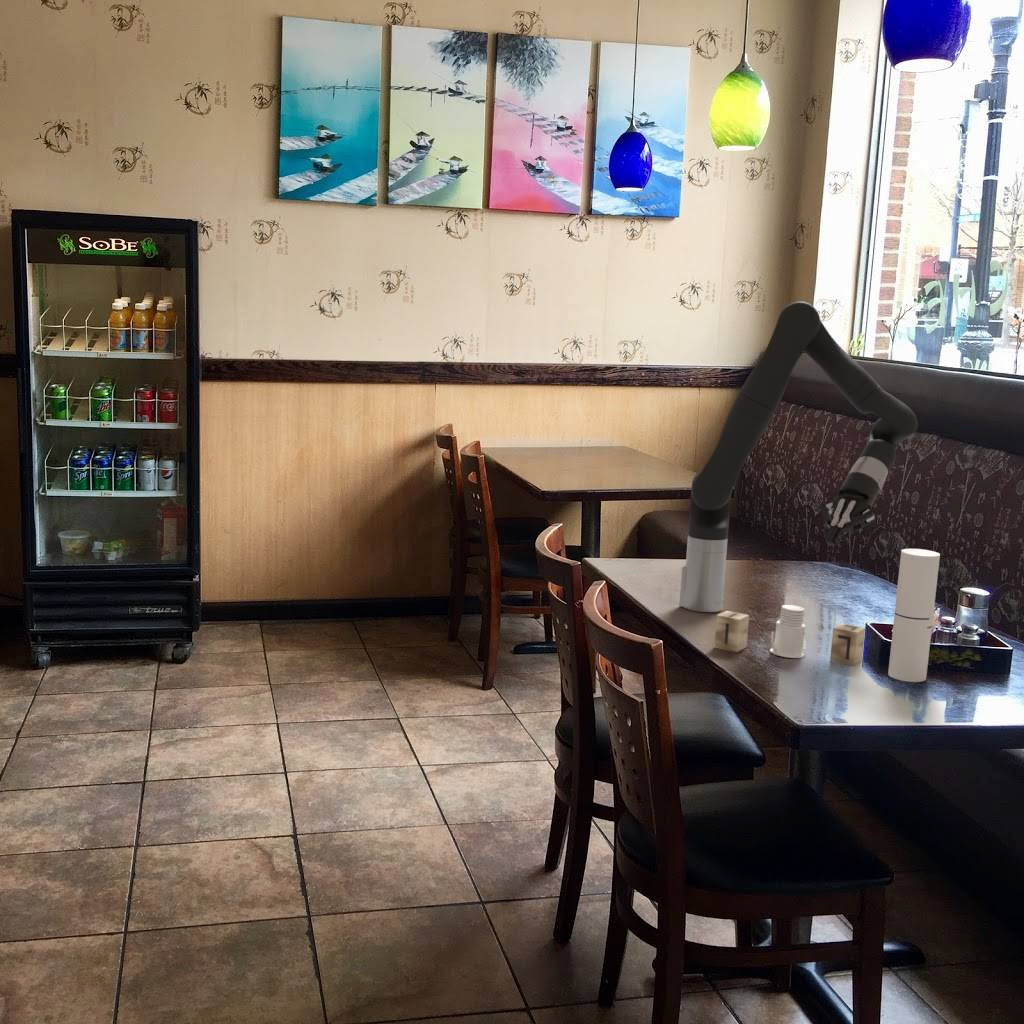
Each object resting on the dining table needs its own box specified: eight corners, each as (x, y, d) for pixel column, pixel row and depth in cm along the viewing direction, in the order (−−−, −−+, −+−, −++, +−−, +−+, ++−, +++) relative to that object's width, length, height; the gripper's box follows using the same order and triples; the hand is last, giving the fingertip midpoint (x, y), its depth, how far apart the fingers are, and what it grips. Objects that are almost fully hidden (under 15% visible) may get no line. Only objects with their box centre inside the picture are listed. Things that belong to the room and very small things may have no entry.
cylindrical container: (880, 672, 236) (893, 549, 232) (909, 669, 239) (923, 548, 235) (904, 683, 230) (917, 556, 226) (933, 680, 232) (948, 555, 228)
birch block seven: (829, 661, 243) (833, 627, 241) (838, 655, 247) (841, 622, 245) (853, 666, 240) (857, 632, 239) (862, 660, 244) (865, 627, 243)
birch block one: (714, 647, 248) (716, 614, 247) (724, 642, 252) (727, 610, 251) (736, 652, 245) (739, 619, 244) (746, 647, 250) (749, 614, 248)
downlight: (778, 659, 242) (784, 611, 240) (761, 649, 248) (767, 603, 247) (812, 659, 244) (819, 612, 242) (795, 649, 251) (801, 603, 249)
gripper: (831, 467, 260) (796, 527, 254) (887, 475, 251) (853, 538, 245) (841, 489, 265) (807, 549, 258) (896, 497, 256) (863, 560, 249)
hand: (829, 543), depth 251 cm, fingers closed
